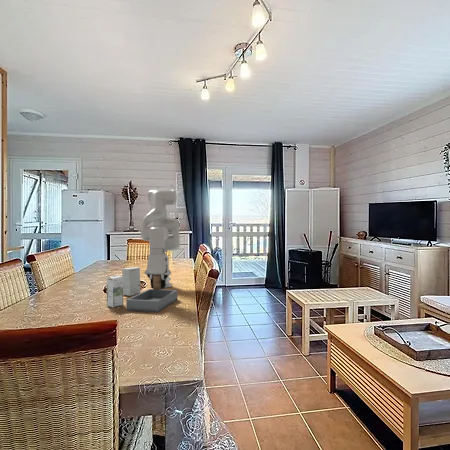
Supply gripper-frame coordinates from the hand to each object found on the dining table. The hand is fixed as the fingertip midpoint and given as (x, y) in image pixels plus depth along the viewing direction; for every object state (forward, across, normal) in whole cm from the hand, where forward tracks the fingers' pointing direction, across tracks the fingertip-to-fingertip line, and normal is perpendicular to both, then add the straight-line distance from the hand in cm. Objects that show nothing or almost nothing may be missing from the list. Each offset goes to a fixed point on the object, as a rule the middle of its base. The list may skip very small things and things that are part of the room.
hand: (158, 286), depth 163 cm
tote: (+8, 0, +5) cm, 9 cm away
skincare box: (+8, +23, -13) cm, 28 cm away
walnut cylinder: (+1, 0, 0) cm, 1 cm away
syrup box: (+8, +18, +10) cm, 22 cm away
